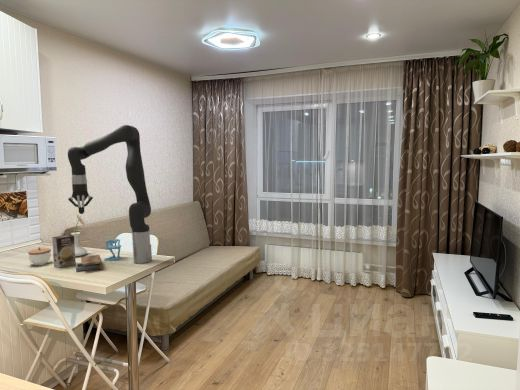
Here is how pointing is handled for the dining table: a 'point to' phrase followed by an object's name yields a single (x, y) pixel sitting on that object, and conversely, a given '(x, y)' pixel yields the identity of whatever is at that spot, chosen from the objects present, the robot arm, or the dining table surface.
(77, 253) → the flower in vase
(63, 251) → the coffee box
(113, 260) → the chair
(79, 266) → the dark grey flat block
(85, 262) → the light brown rounded block
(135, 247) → the robot arm
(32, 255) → the lidded jar
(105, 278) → the dining table surface
